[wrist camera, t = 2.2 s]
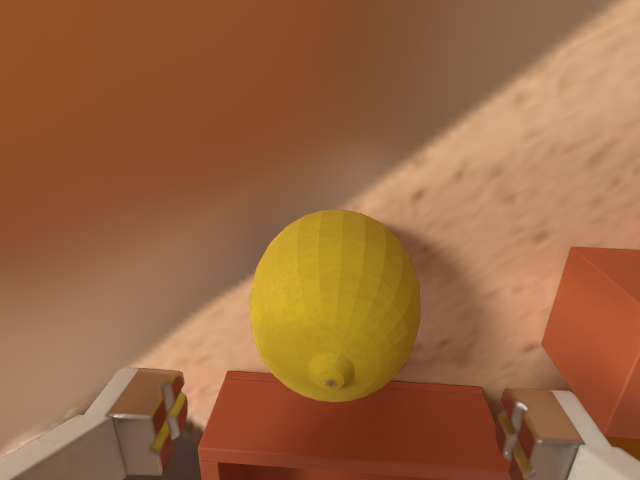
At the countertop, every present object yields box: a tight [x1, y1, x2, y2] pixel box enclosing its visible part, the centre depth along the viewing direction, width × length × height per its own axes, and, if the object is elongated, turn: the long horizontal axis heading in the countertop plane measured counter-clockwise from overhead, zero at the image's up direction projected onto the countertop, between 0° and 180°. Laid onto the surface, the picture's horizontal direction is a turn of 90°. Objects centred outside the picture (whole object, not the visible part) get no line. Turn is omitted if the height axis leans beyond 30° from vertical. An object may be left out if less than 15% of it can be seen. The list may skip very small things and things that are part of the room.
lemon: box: [250, 210, 420, 402], centre depth 14 cm, size 6×6×8 cm
